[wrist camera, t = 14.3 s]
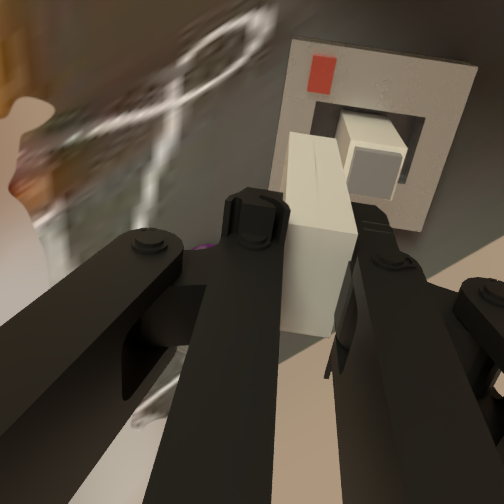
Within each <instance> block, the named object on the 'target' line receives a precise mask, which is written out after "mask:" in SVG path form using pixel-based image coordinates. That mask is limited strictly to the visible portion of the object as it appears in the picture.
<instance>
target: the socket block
mask: <svg viewBox="0 0 504 504" xmlns="http://www.w3.org/2000/svg"><path fill="white" fill-rule="evenodd" d="M477 70H478V67H477V66H475V65H473V64H471V63H469V62H466V61H459V60H453V59H446V58H439V57H433V56H426V55H419V54H413V53H406V52H399V51H393V50H386V49H379V48H373V47H366V46H360V45H353V44H346V43H340V42H333V41H326V40H320V39H313V38H306V37H300V36H292V42H291V48H290V55H289V61H288V67H287V74H286V80H285V87H284V93H283V99H282V106H281V112H280V118H279V125H278V131H277V137H276V144H275V150H274V157H273V163H272V169H271V176H270V182H269V188H268V190H270V191H276V192H280V186H281V181H282V175H283V169H284V163H285V157H286V151H287V145H288V140H289V134H290V132H295V133H302V134H308V135H315V136H321V137H328V138H335V135H336V130H337V125H338V121H339V116H340V112H341V109H342V110H349V111H355V112H362V113H369V114H375V115H382V116H387V117H388V118H389V120H390V121H391V123H392V124H393V126H394V128H395V129H396V131H397V132H398V134H399V135H400V137H401V139H402V140H403V142H404V143H405V145H406V146H407V148H408V149H407V153H406V156H405V159H404V163H403V166H402V169H401V173H400V176H399V179H398V182H397V186H396V189H395V192H394V196H393V199H392V201H389V200H383V199H376V198H370V197H363V196H357V195H350V194H349V197H350V201H351V202H357V203H364V204H370V205H376V206H377V207H378V208H379V209H381V210H382V211H383V212H384V213H385V214H386V215H387V218H388V220H389V223H390V226H391V228H397V229H404V230H410V231H417V232H421V230H422V227H423V224H424V222H425V219H426V216H427V213H428V210H429V207H430V204H431V202H432V199H433V196H434V193H435V190H436V187H437V184H438V182H439V179H440V176H441V173H442V170H443V167H444V164H445V162H446V159H447V156H448V153H449V150H450V147H451V144H452V142H453V139H454V136H455V133H456V130H457V127H458V124H459V121H460V119H461V116H462V113H463V110H464V107H465V104H466V101H467V99H468V96H469V93H470V90H471V87H472V84H473V81H474V79H475V76H476V73H477Z"/></svg>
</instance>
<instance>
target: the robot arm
mask: <svg viewBox="0 0 504 504" xmlns="http://www.w3.org/2000/svg"><path fill="white" fill-rule="evenodd" d="M392 233H393V231H392V229H391V226H390V223H389V220H388V218H387V215H386V214H385V213H384V212H383V211H382V210H381V209H379V208H378V207H377V206H376V205H370V204H364V203H357V202H351V201H350V197H349V192H348V188H347V184H346V179H345V175H344V171H343V166H342V162H341V157H340V153H339V149H338V144H337V140H336V139H335V138H328V137H321V136H315V135H308V134H302V133H295V132H290V134H289V140H288V145H287V151H286V157H285V163H284V169H283V175H282V181H281V186H280V192H276V191H270V190H263V189H257V188H250V187H247V188H245V189H244V190H242V191H240V192H239V193H236V194H233V195H230V196H229V197H228V198H227V199H226V200H225V206H224V215H223V224H222V233H221V239H220V242H219V244H217V245H215V246H213V247H210V248H205V249H198V250H183V249H184V247H183V243H182V240H181V239H180V238H179V237H177V236H176V235H175V234H172V233H170V232H168V231H165V230H160V229H156V228H140V229H136V230H131V231H128V232H126V233H124V234H122V235H120V236H118V237H117V238H116V239H114V240H113V241H112V242H111V243H109V244H108V245H107V246H105V247H104V248H103V249H101V250H100V251H99V252H97V253H96V254H95V255H94V256H92V257H91V258H90V259H88V260H87V261H86V262H84V263H83V264H82V265H80V266H79V267H78V268H76V269H75V270H74V271H73V272H71V273H70V274H69V275H67V276H66V277H65V278H63V279H62V280H61V281H59V282H58V283H57V284H56V285H54V286H53V287H52V288H50V289H49V290H48V291H47V292H45V293H44V294H43V295H41V296H40V297H38V298H37V299H36V300H35V301H33V302H32V303H31V304H29V305H28V306H27V307H25V308H24V309H23V310H21V311H20V312H19V313H17V314H16V315H15V316H14V317H12V318H11V319H10V320H9V321H7V322H6V323H4V324H3V325H2V326H0V504H68V502H69V501H70V500H71V498H72V497H73V496H74V494H75V493H76V492H77V490H78V489H79V487H80V486H81V484H82V483H83V482H84V480H85V479H86V478H87V476H88V475H89V473H90V472H91V470H92V469H93V468H94V467H95V465H96V464H97V462H98V461H99V460H100V458H101V457H102V455H103V454H104V452H105V451H106V450H107V448H108V447H109V446H110V444H111V443H112V441H113V440H114V439H115V437H116V436H117V434H118V433H119V432H120V430H121V429H122V427H123V426H124V425H125V423H126V422H127V420H128V419H129V418H130V416H131V415H132V414H133V412H134V411H135V410H136V408H137V407H138V405H139V404H140V403H141V401H142V400H143V398H144V397H145V396H146V394H147V393H148V391H149V390H150V389H151V387H152V386H153V384H154V383H155V382H156V380H157V379H158V378H159V376H160V375H161V373H162V372H163V371H164V369H165V368H166V366H167V365H168V364H169V362H170V361H171V359H172V358H173V357H174V355H175V352H176V350H177V346H185V345H189V347H188V350H187V354H186V357H185V361H184V364H183V367H182V371H181V374H180V377H179V381H178V384H177V388H176V391H175V394H174V398H173V401H172V404H171V408H170V411H169V415H168V418H167V421H166V425H165V428H164V432H163V435H162V438H161V442H160V445H159V448H158V452H157V455H156V459H155V462H154V465H153V469H152V472H151V475H150V479H149V482H148V486H147V489H146V492H145V496H144V499H143V502H142V504H271V494H272V474H273V455H274V436H275V415H276V396H277V376H278V357H279V337H280V330H281V331H287V332H294V333H300V334H306V335H313V336H319V337H325V338H330V335H331V331H332V327H333V324H334V320H335V329H336V335H335V338H334V342H333V345H332V349H331V353H330V356H329V360H328V363H327V367H326V370H325V375H324V378H325V379H329V376H330V372H331V371H332V374H333V387H334V399H335V412H336V424H337V437H338V449H339V462H340V474H341V487H342V499H343V504H504V397H502V396H501V395H500V394H499V393H498V392H497V391H496V389H495V388H494V387H493V386H494V384H495V382H496V380H497V378H498V377H499V375H500V373H501V371H502V372H503V373H504V282H502V281H499V280H498V281H497V280H496V279H492V278H481V277H476V278H468V279H467V280H465V281H464V282H462V285H461V287H460V290H459V292H455V291H451V290H449V289H446V288H442V287H439V286H436V285H434V284H431V283H429V282H427V280H426V278H425V275H424V273H423V270H422V268H421V266H420V265H419V264H418V262H417V261H416V260H415V259H413V258H412V257H410V256H409V255H408V254H405V253H403V252H401V251H400V250H399V248H398V245H397V242H396V239H395V237H394V234H392Z"/></svg>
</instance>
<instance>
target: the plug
mask: <svg viewBox="0 0 504 504" xmlns="http://www.w3.org/2000/svg"><path fill="white" fill-rule="evenodd" d="M335 139H336V140H337V144H338V149H339V153H340V157H341V162H342V166H343V171H344V175H345V179H346V184H347V188H348V192H349V194H350V195H357V196H363V197H370V198H376V199H383V200H389V201H392V199H393V196H394V192H395V189H396V186H397V182H398V179H399V176H400V173H401V169H402V166H403V163H404V159H405V156H406V153H407V149H408V148H407V146H406V145H405V143H404V142H403V140H402V139H401V137H400V135H399V134H398V132H397V131H396V129H395V128H394V126H393V124H392V123H391V121H390V120H389V118H388V117H387V116H382V115H375V114H369V113H362V112H355V111H349V110H342V109H341V112H340V116H339V121H338V125H337V130H336V135H335Z"/></svg>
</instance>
